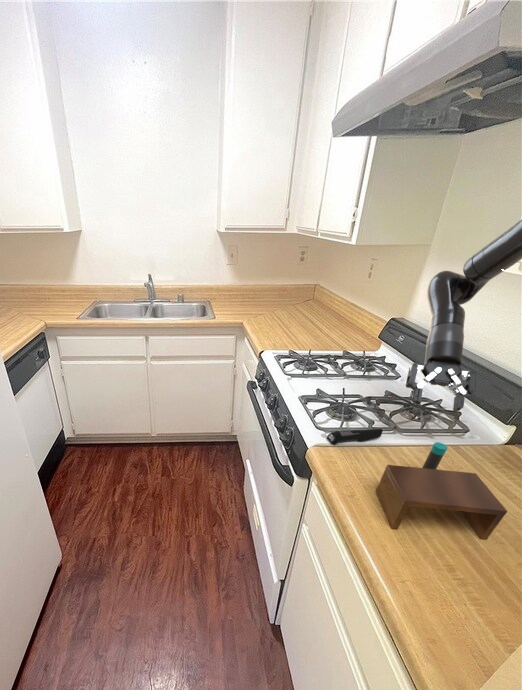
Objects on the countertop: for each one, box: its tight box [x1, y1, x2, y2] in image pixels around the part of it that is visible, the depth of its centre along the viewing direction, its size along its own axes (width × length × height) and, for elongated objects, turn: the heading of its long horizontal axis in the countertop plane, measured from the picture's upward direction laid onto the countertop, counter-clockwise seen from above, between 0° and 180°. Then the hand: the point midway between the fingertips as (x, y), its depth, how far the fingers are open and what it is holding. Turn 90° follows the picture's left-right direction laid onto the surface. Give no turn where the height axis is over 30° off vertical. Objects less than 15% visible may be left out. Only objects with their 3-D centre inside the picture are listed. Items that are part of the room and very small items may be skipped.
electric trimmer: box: [326, 428, 383, 445], centre depth 96 cm, size 4×16×3 cm, turn 100°
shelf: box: [375, 464, 508, 541], centre depth 71 cm, size 18×11×8 cm, turn 82°
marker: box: [421, 441, 448, 470], centre depth 80 cm, size 3×3×10 cm
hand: (436, 407), depth 84 cm, fingers open, 8 cm apart
